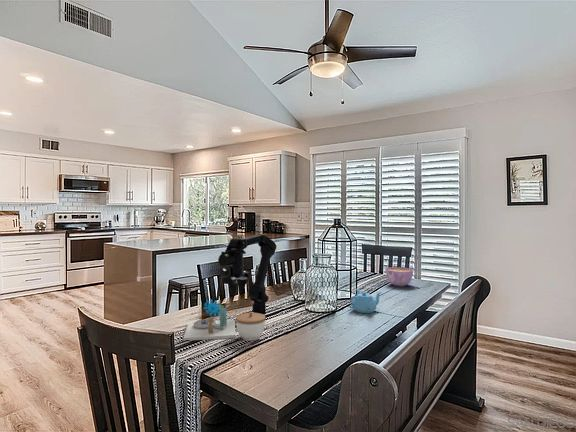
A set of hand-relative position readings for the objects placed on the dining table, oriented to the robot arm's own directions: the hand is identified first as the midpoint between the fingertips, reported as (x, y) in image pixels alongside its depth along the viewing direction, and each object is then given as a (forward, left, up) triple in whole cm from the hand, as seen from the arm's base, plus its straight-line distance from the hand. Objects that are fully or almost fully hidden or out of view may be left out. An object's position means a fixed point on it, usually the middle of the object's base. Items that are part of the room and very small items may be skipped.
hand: (237, 294), depth 180 cm
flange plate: (+13, +11, -11) cm, 20 cm away
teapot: (-70, -6, -13) cm, 71 cm away
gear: (+12, -12, -13) cm, 22 cm away
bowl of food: (-118, -63, -13) cm, 134 cm away
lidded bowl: (-5, +25, -13) cm, 29 cm away
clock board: (+12, +13, -13) cm, 22 cm away
